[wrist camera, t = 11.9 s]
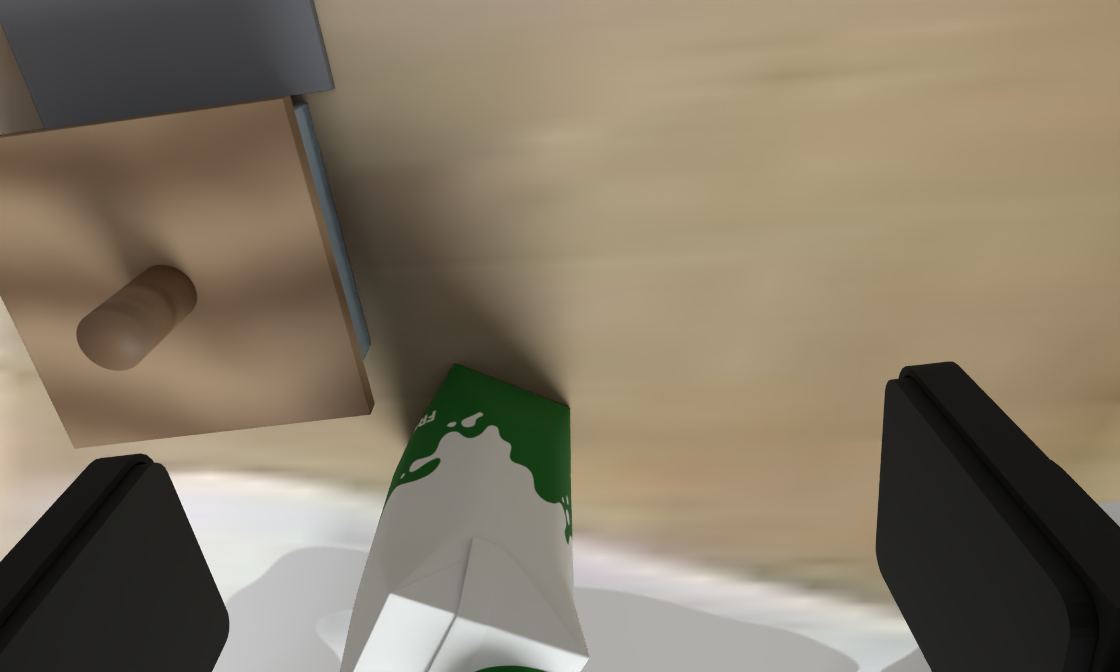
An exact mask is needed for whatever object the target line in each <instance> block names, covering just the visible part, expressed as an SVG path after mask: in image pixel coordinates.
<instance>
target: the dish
mask: <svg viewBox="0 0 1120 672" xmlns="http://www.w3.org/2000/svg"><path fill="white" fill-rule="evenodd" d="M293 107H294V111H295V115H296V118H297V122H298V126H299V129H300V133H301V137H302V140H303V144H304V147H305V151H306V155H307V158H308V162H309V166H310V169H311V173H312V177H313V180H314V184H315V188H316V191H317V195H318V199H319V202H320V206H321V210H322V213H323V217H324V221H325V224H326V228H327V232H328V235H329V239H330V242H331V246H332V250H333V253H334V257H335V261H336V264H337V268H338V272H339V275H340V279H341V283H342V286H343V290H344V294H345V297H346V301H347V305H348V308H349V312H350V316H351V319H352V323H353V327H354V330H355V334H356V337H357V341H358V345H359V348H360V352H361V356H362V359H363V360H364V358H365V356H366V354H367V351H368V349H369V347H370V345H371V342H370V339H369V335H368V331H367V327H366V324H365V320H364V316H363V312H362V308H361V305H360V301H359V297H358V293H357V290H356V286H355V282H354V278H353V275H352V271H351V267H350V263H349V259H348V256H347V252H346V248H345V244H344V241H343V237H342V233H341V229H340V225H339V222H338V218H337V214H336V210H335V207H334V203H333V199H332V195H331V192H330V188H329V184H328V180H327V176H326V173H325V169H324V165H323V161H322V158H321V154H320V150H319V146H318V142H317V139H316V135H315V131H314V127H313V124H312V120H311V116H310V112H309V109H308V105H307V103H304V104H296V105H293Z"/></svg>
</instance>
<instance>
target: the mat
mask: <svg viewBox="0 0 1120 672" xmlns="http://www.w3.org/2000/svg"><path fill="white" fill-rule="evenodd" d="M0 22H1V25H2V27H3V29H4V32H5V34H6V37H7V39H8V42H9V44H10V46H11V49H12V51H13V54H14V56H15V58H16V61H17V63H18V66H19V68H20V70H21V73H22V75H23V78H24V80H25V83H26V85H27V87H28V90H29V92H30V95H31V97H32V99H33V102H34V104H35V107H36V109H37V112H38V114H39V116H40V119H41V121H42V124H43V126H44V128H45V129H46V128H54V127H61V126H68V125H75V124H83V123H90V122H97V121H104V120H111V119H119V118H126V117H133V116H140V115H148V114H155V113H162V112H169V111H176V110H184V109H191V108H198V107H205V106H213V105H220V104H227V103H234V102H241V101H249V100H256V99H263V98H270V97H277V96H285V95H290V96H292V95H299V94H307V93H314V92H321V91H328V90H333V89H334V88H335V86H334V82H333V78H332V74H331V70H330V66H329V62H328V58H327V54H326V50H325V45H324V41H323V37H322V33H321V29H320V25H319V21H318V17H317V13H316V9H315V5H314V1H313V0H0Z"/></svg>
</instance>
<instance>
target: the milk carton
mask: <svg viewBox="0 0 1120 672" xmlns="http://www.w3.org/2000/svg"><path fill="white" fill-rule="evenodd" d="M588 659H589V654H588V650H587V646H586V643H585V639H584V636H583V633H582V629H581V625H580V622H579V618H578V615H577V611H576V608H575V604H574V582H573V546H572V510H571V450H570V408H569V407H567V406H564V405H562V404H559V403H556V402H554V401H551V400H549V399H546V398H543V397H541V396H538V395H536V394H533V393H530V392H528V391H525V390H523V389H520V388H517V387H515V386H512V385H510V384H507V383H504V382H502V381H499V380H497V379H494V378H491V377H489V376H486V375H483V374H481V373H478V372H476V371H473V370H470V369H468V368H465V367H463V366H460V365H457V364H454V366H453V367H452V369H451V371H450V372H449V374H448V376H447V377H446V379H445V380H444V382H443V384H442V385H441V387H440V389H439V390H438V392H437V394H436V395H435V397H434V399H433V400H432V402H431V404H430V405H429V407H428V408H427V410H426V412H425V413H424V415H423V417H422V418H421V420H420V422H419V423H418V425H417V427H416V428H415V430H414V432H413V434H412V436H411V438H410V440H409V442H408V445H407V447H406V449H405V451H404V453H403V456H402V458H401V460H400V462H399V464H398V466H397V468H396V471H395V473H394V476H393V479H392V482H391V485H390V488H389V491H388V495H387V498H386V501H385V504H384V507H383V511H382V514H381V517H380V520H379V523H378V527H377V530H376V533H375V536H374V540H373V543H372V546H371V549H370V552H369V556H368V559H367V562H366V566H365V569H364V572H363V575H362V579H361V582H360V586H359V589H358V592H357V596H356V600H355V604H354V607H353V612H352V616H351V621H350V626H349V630H348V635H347V640H346V645H345V649H344V654H343V659H342V664H341V668H340V672H580V671H581V670H582V668H583V667H584V665H585V664H586V662H587V660H588Z"/></svg>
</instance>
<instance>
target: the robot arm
mask: <svg viewBox="0 0 1120 672" xmlns="http://www.w3.org/2000/svg"><path fill="white" fill-rule="evenodd" d="M876 556H877V561H878V565H879V568H880V572H881V574H882V576H883V578H884V580H885V582H886V584H887V586H888V588H889V590H890V592H891V594H892V596H893V597H894V599H895V601H896V603H897V605H898V607H899V609H900V611H901V613H902V615H903V617H904V619H905V620H906V622H907V624H908V626H909V628H910V630H911V632H912V634H913V636H914V638H915V640H916V642H917V643H918V645H919V647H920V649H921V651H922V653H923V655H924V657H925V659H926V661H927V663H928V664H929V666H930V668H931V670H932V672H1120V527H1119V526H1118V525H1117V524H1116V523H1115V522H1114V521H1113V520H1112V519H1111V518H1110V517H1109V516H1108V515H1107V514H1106V513H1105V512H1104V511H1103V509H1102V508H1101V507H1100V506H1099V505H1098V504H1097V503H1096V502H1095V501H1094V500H1093V499H1092V498H1091V497H1090V496H1089V495H1088V494H1087V493H1086V492H1085V491H1084V490H1083V489H1082V488H1081V487H1080V486H1079V485H1078V484H1077V483H1076V482H1075V481H1074V480H1073V479H1072V478H1071V477H1070V476H1069V475H1068V474H1067V473H1066V472H1065V471H1064V470H1063V469H1062V468H1061V467H1060V466H1059V465H1057V464H1056V463H1055V462H1053V461H1052V460H1050V459H1049V458H1048V457H1047V456H1046V455H1045V454H1044V453H1043V452H1042V451H1041V450H1040V449H1039V448H1038V447H1037V446H1036V445H1035V443H1034V442H1033V441H1032V440H1031V439H1030V438H1029V437H1028V436H1027V435H1026V434H1025V433H1024V432H1023V431H1022V430H1021V429H1020V428H1019V427H1018V426H1017V425H1016V424H1015V423H1014V422H1013V421H1012V420H1011V419H1010V418H1009V417H1008V416H1007V415H1006V414H1005V413H1004V412H1003V411H1002V410H1001V409H1000V408H999V406H998V405H997V404H996V403H995V402H994V401H993V400H992V399H991V398H990V397H989V396H988V395H987V394H986V393H985V392H984V391H983V390H982V389H981V388H980V387H979V386H978V385H977V384H976V383H975V382H974V381H973V380H972V379H971V378H970V377H969V376H968V375H967V374H966V373H965V372H964V370H963V369H962V368H961V367H960V366H959V365H957V364H956V363H954V362H940V363H932V364H923V365H914V366H905V367H904V368H903V369H902V370H901V372H900V375H899V379H893V380H889V381H888V382H887V385H886V389H885V401H884V417H883V434H882V450H881V467H880V483H879V500H878V516H877V533H876ZM228 633H229V616H228V612H227V610H226V607H225V605H224V603H223V600H222V598H221V595H220V593H219V591H218V588H217V586H216V584H215V581H214V579H213V577H212V574H211V572H210V570H209V567H208V565H207V563H206V560H205V558H204V556H203V553H202V551H201V549H200V546H199V544H198V542H197V539H196V537H195V535H194V532H193V530H192V528H191V525H190V523H189V521H188V518H187V516H186V514H185V511H184V509H183V507H182V504H181V502H180V500H179V497H178V495H177V493H176V490H175V488H174V486H173V483H172V481H171V479H170V476H169V474H168V472H167V470H166V468H165V467H164V466H163V465H162V464H159V463H154V462H153V460H152V459H151V458H150V457H148V456H147V455H144V454H133V455H124V456H115V457H106V458H100V459H96V460H94V461H93V462H92V463H90V464H89V465H88V466H87V468H86V469H85V470H84V471H83V472H82V473H81V474H80V475H79V476H78V477H77V478H76V480H75V481H74V482H73V483H72V484H71V485H70V486H69V487H68V488H67V489H66V491H65V492H64V493H63V494H62V495H61V496H60V497H59V498H58V499H57V500H56V501H55V503H54V504H53V505H52V506H51V507H50V508H49V509H48V510H47V511H46V512H45V514H44V515H43V516H42V517H41V518H40V519H39V520H38V521H37V522H36V523H35V524H34V526H33V527H32V528H31V529H30V530H29V531H28V532H27V533H26V534H25V535H24V537H23V538H22V539H21V540H20V541H19V542H18V543H17V544H16V545H15V546H14V548H13V549H12V550H11V551H10V552H9V553H8V554H7V555H6V556H5V557H4V558H3V560H2V561H1V562H0V672H212V670H213V668H214V666H215V664H216V662H217V660H218V658H219V656H220V653H221V651H222V650H223V647H224V645H225V643H226V641H227V638H228Z"/></svg>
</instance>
